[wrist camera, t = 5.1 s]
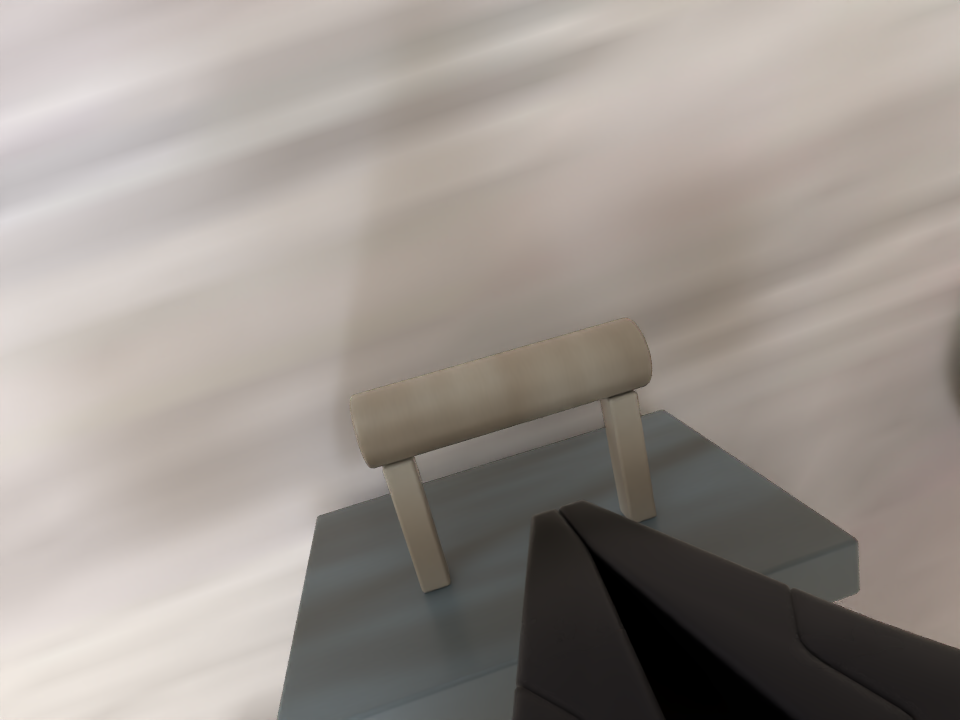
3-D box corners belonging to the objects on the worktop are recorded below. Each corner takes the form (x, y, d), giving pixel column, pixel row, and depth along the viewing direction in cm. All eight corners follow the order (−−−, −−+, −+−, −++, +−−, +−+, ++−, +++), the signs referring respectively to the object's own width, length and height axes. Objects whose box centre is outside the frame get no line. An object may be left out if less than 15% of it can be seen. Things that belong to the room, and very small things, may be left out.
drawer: (261, 370, 13) (154, 513, 7) (643, 266, 15) (854, 304, 8) (433, 822, 18) (463, 1151, 12) (708, 716, 20) (872, 964, 13)
